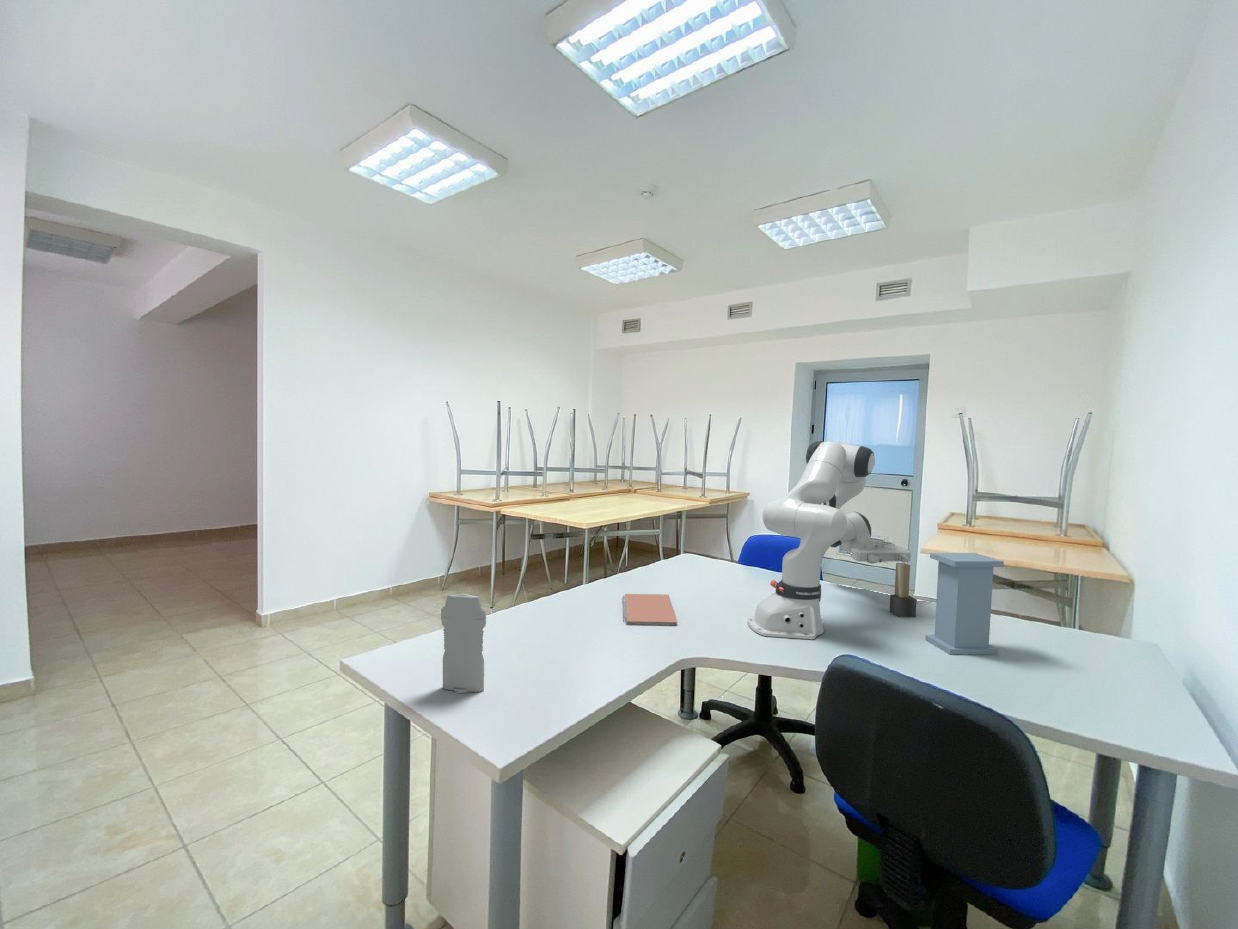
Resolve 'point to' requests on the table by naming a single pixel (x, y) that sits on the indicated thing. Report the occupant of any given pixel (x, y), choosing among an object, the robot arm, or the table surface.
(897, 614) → the mallet
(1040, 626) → the table surface
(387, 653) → the table surface
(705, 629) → the table surface
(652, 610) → the notebook
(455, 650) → the tall pale column
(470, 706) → the table surface
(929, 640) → the stand
